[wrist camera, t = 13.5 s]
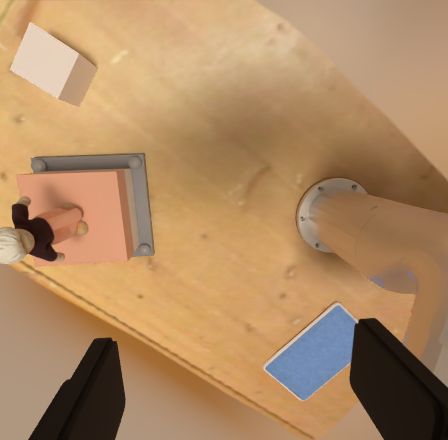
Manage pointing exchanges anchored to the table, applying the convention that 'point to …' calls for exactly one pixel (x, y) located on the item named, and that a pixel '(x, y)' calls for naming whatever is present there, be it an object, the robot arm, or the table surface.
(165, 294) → the table surface
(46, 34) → the white cube
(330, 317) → the tablet computer
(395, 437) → the robot arm
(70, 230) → the grandmother figurine
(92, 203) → the pink framed box
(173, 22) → the table surface
